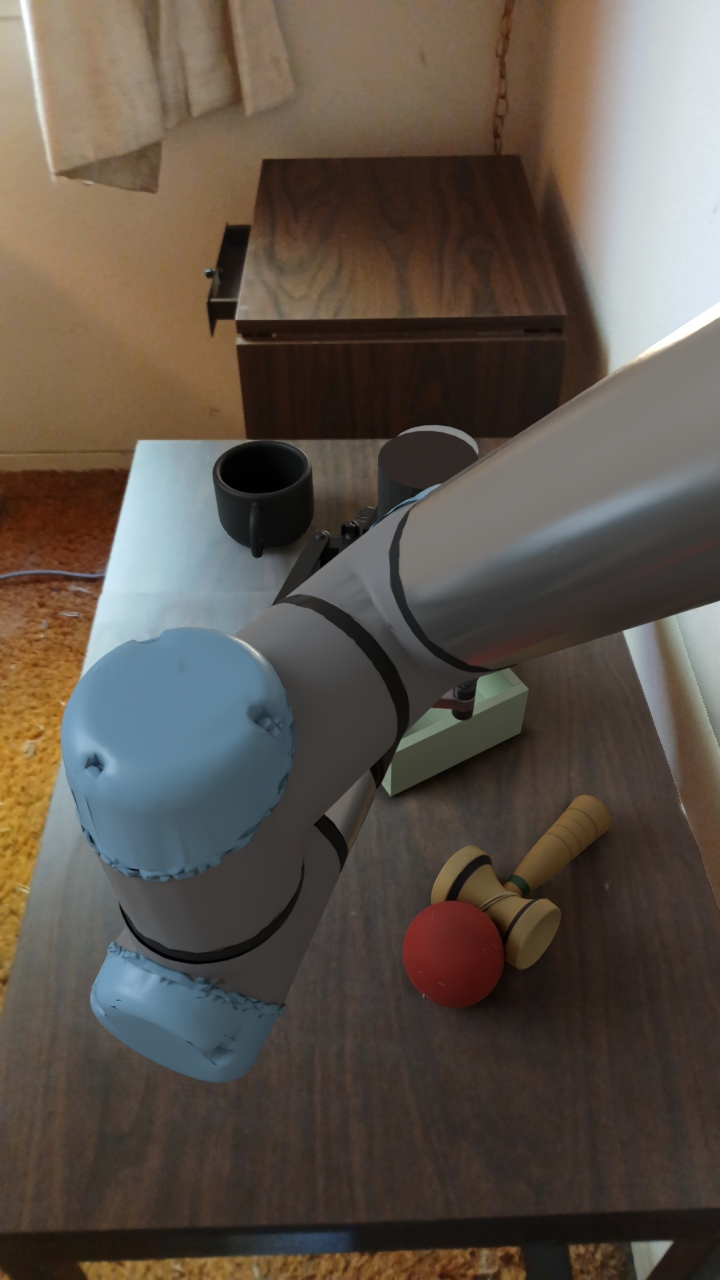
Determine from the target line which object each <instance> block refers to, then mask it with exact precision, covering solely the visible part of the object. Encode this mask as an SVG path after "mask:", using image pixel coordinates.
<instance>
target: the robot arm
mask: <svg viewBox="0 0 720 1280" xmlns="http://www.w3.org/2000/svg"><path fill="white" fill-rule="evenodd" d="M718 602H720V302H718V303H717V304H715V305H713V306H712V307H710V308H709V309H707V310H706V311H704V312H703V313H701V314H700V315H698V316H697V317H694V318H693V319H692V320H691V321H689V322H688V323H685V324H684V325H683V326H681V327H680V328H678V329H677V330H675V331H674V332H672V333H671V334H669V335H668V336H666V337H664V338H663V339H661V340H660V341H658V342H657V343H655V344H654V345H652V346H651V347H648V348H647V349H646V350H644V351H643V352H641V353H640V354H639V355H637V356H636V357H634V358H632V359H631V360H628V362H626V363H624V364H623V365H621V366H620V367H619V368H617V369H615V370H614V371H613V372H610V373H609V374H608V375H606V376H605V377H603V378H602V379H600V380H599V381H597V382H595V383H594V384H592V385H591V386H590V387H588V388H586V389H585V390H583V391H581V392H579V394H577V395H576V396H574V397H572V398H571V399H570V400H568V401H567V402H565V403H563V404H562V405H560V406H559V407H557V408H556V409H554V410H552V411H551V412H550V413H548V414H547V415H545V416H543V417H542V418H540V419H539V420H538V421H537V420H536V421H535V422H534V423H533V424H531V425H530V426H528V427H527V428H525V429H524V430H522V431H520V432H519V433H517V434H516V435H514V436H513V437H511V438H510V439H508V440H507V441H505V442H504V443H502V444H501V445H499V446H498V447H495V448H494V449H493V450H492V451H490V452H489V453H487V454H485V455H484V456H482V457H481V458H478V461H476V462H475V463H473V464H472V465H470V466H469V467H467V468H465V469H464V470H462V471H461V472H459V473H458V474H456V475H455V476H453V477H452V478H450V479H449V480H447V481H446V482H444V483H442V484H438V485H434V486H432V487H430V488H427V489H426V490H424V491H422V492H421V493H419V494H418V495H416V496H415V497H413V498H410V499H408V500H406V501H404V502H402V503H401V504H399V505H398V506H396V507H395V508H393V509H392V510H391V511H390V512H388V513H387V514H386V515H384V516H383V517H381V518H380V519H379V520H378V504H377V505H376V506H375V507H372V506H369V505H366V506H364V507H362V508H360V510H359V511H358V513H357V515H356V517H355V518H354V520H346V521H343V522H342V523H341V524H340V535H330V532H329V531H328V530H325V529H317V530H314V531H312V533H310V536H309V538H308V539H307V541H306V543H305V545H304V547H303V548H302V550H301V552H300V554H299V555H298V557H297V559H296V560H295V563H294V564H293V566H292V568H291V569H290V572H289V573H288V575H287V577H286V579H285V580H284V582H283V584H282V586H281V588H280V589H279V591H278V593H277V595H276V597H275V599H274V600H273V602H272V604H271V605H270V606H269V607H268V608H267V609H265V611H263V612H262V613H261V614H259V615H257V617H255V618H254V619H252V621H250V622H249V623H248V624H246V625H245V626H243V627H242V628H241V629H240V630H238V632H236V633H235V634H230V633H228V632H224V631H221V630H218V629H214V628H204V627H196V626H195V627H194V626H193V627H192V626H186V627H185V626H184V627H172V628H168V629H165V630H163V631H162V632H161V634H160V635H159V636H155V637H152V638H149V639H145V640H141V641H138V640H136V639H130V640H127V641H126V642H123V643H122V644H120V645H118V646H116V647H115V648H114V649H112V650H110V651H109V652H107V653H106V654H104V655H103V656H101V658H100V659H98V660H97V661H96V662H95V663H94V664H93V665H92V666H91V667H90V668H89V669H88V670H87V671H86V672H85V673H84V675H83V676H82V677H81V678H80V680H79V681H78V682H77V684H76V685H75V686H74V688H73V690H72V692H71V695H70V696H69V699H68V701H67V703H66V705H65V708H64V710H63V715H62V719H61V726H60V751H61V758H62V761H63V765H64V771H65V777H66V781H67V784H68V787H69V791H70V794H71V796H72V799H73V802H74V806H75V814H76V817H77V820H78V822H79V825H80V827H81V831H82V834H83V836H84V838H85V841H86V842H87V843H88V844H89V846H90V847H91V848H92V849H93V850H94V853H95V855H96V857H97V859H98V861H99V863H100V865H101V867H102V869H103V872H104V873H105V875H106V877H107V879H108V881H109V885H111V888H112V890H113V892H114V893H115V896H116V898H117V904H118V907H119V911H120V915H121V918H122V921H123V923H124V928H123V930H122V932H121V933H120V934H119V936H118V937H117V938H116V940H112V941H111V942H110V944H109V946H108V947H107V951H106V953H107V955H106V957H105V959H104V961H103V963H102V966H101V967H100V970H99V971H98V973H97V975H96V978H95V980H94V981H93V984H92V986H91V991H90V995H89V1001H90V1002H89V1003H90V1007H91V1010H92V1013H93V1015H94V1017H95V1018H96V1020H97V1021H98V1022H99V1023H100V1024H101V1025H102V1026H103V1028H104V1029H106V1030H107V1032H109V1033H110V1034H111V1035H112V1036H113V1037H114V1038H116V1039H117V1040H119V1042H121V1043H123V1045H125V1046H127V1047H128V1048H130V1049H131V1050H133V1051H135V1052H136V1053H138V1054H139V1055H141V1056H142V1057H144V1058H146V1059H149V1060H150V1061H152V1062H154V1063H156V1064H158V1065H160V1066H162V1067H164V1068H167V1069H169V1070H171V1071H173V1072H175V1073H178V1074H181V1075H183V1076H185V1077H189V1078H192V1079H195V1080H198V1081H203V1082H207V1083H213V1084H214V1083H215V1084H223V1083H230V1082H234V1081H236V1080H237V1079H239V1078H241V1077H243V1076H244V1075H246V1073H248V1072H249V1071H250V1070H251V1068H252V1067H253V1065H254V1064H255V1061H256V1059H257V1057H258V1055H259V1053H260V1052H261V1049H262V1048H263V1046H264V1044H265V1042H266V1040H267V1039H268V1037H269V1035H270V1033H271V1031H272V1029H273V1027H274V1025H275V1024H276V1022H277V1020H278V1018H279V1017H281V1016H283V1015H284V1013H285V1011H286V1008H287V1005H286V1003H285V1002H286V999H287V997H288V995H289V993H290V991H291V988H292V985H293V983H294V980H295V978H296V976H297V973H298V972H299V969H300V967H301V965H302V962H303V960H304V957H305V955H306V953H307V951H308V948H309V946H310V944H311V942H312V939H313V937H314V935H315V932H316V931H317V929H318V926H319V923H320V921H321V919H322V917H323V914H324V912H325V910H326V907H327V905H328V904H329V900H330V899H331V896H332V894H333V891H334V889H335V887H336V884H337V882H338V881H339V877H340V875H341V874H342V873H341V872H342V871H343V868H344V866H345V864H346V861H347V859H348V857H349V855H350V852H351V851H352V848H353V846H354V844H355V842H356V841H357V840H356V839H357V838H358V835H359V834H360V831H361V829H362V828H363V825H364V823H365V821H366V818H367V816H368V814H369V812H370V809H371V807H372V806H373V804H374V802H375V798H376V794H377V790H378V788H379V787H380V786H382V784H381V783H382V781H383V779H384V777H385V775H386V773H387V770H388V768H389V766H390V764H391V761H392V759H393V757H394V755H395V752H396V750H397V748H398V746H399V743H400V741H401V739H402V737H403V735H404V734H405V733H406V732H407V731H408V730H409V729H410V728H411V727H412V726H413V725H414V724H415V723H416V722H417V721H418V720H419V719H420V718H421V717H422V716H423V715H424V714H425V713H426V712H427V711H428V710H429V709H430V708H439V709H452V710H451V712H452V715H453V716H454V718H456V719H458V720H461V721H465V720H468V719H470V718H471V717H472V716H473V711H474V703H475V695H476V687H477V681H478V679H479V677H482V676H485V675H488V674H492V673H495V672H498V671H501V670H504V669H507V668H509V669H510V668H512V667H515V666H517V665H518V664H522V663H525V662H528V661H531V660H534V659H537V658H541V657H543V656H548V655H550V654H553V653H557V652H560V651H563V650H566V649H570V648H573V647H576V646H580V645H581V644H582V645H583V644H586V643H589V642H592V641H595V640H598V639H602V638H606V637H608V636H612V635H615V634H618V633H621V632H625V631H627V630H631V629H634V628H637V627H640V626H644V625H646V624H651V623H653V622H657V621H660V620H663V619H666V618H669V617H673V616H676V615H679V614H683V613H686V612H689V611H692V610H696V609H698V608H702V607H705V606H708V605H711V604H715V603H718Z"/></svg>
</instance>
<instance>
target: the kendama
mask: <svg viewBox="0 0 720 1280" xmlns="http://www.w3.org/2000/svg"><path fill="white" fill-rule="evenodd" d="M611 825H612V818H611V814H610V812H609V810H608V808H607V807H606V805H605V804H604V803H602V802H601V801H600V800H599V799H598V798H596V797H595V796H593V795H588V794H581V795H577V796H576V797H575V798H574V799H573V800H572V801H571V803H570V804H569V805H568V806H567V808H566V809H565V811H564V812H562V814H561V815H560V816H559V817H558V819H557V820H555V822H554V823H553V824H552V825H551V827H549V828H548V830H547V831H546V832H545V833H544V834H543V836H541V837H540V838H539V840H537V842H535V844H534V845H533V846H532V848H531V849H530V850H529V851H528V852H527V854H526V855H525V856H524V858H523V859H522V860H521V861H520V863H519V864H518V865H517V867H516V868H515V869H514V871H513V872H512V874H511V875H510V876H509V877H508V879H507V880H506V882H505V883H504V884H501V882H500V881H499V879H498V878H497V875H496V873H495V871H494V867H493V861H492V858H491V855H490V854H489V853H487V852H486V851H484V850H482V849H481V848H479V847H478V846H476V845H473V844H470V845H469V844H468V845H466V846H464V847H462V848H460V849H459V850H457V851H456V852H455V853H453V855H451V857H449V859H448V860H447V861H446V862H445V863H444V865H443V866H442V868H441V870H440V871H439V873H438V874H437V876H436V879H435V881H434V883H433V886H432V890H431V895H430V905H429V906H427V907H426V908H424V909H422V910H421V911H420V912H419V913H418V914H417V915H416V916H415V917H414V919H413V920H412V921H411V923H410V924H409V926H408V928H407V930H406V932H405V935H404V938H403V942H402V952H401V953H402V955H401V957H402V963H403V967H404V970H405V973H406V975H407V977H408V979H409V981H410V983H411V985H413V987H414V988H415V989H416V990H417V992H419V994H420V995H421V996H422V998H423V1000H425V1001H430V1002H431V1003H433V1004H436V1005H437V1006H440V1007H444V1008H448V1009H464V1008H468V1007H471V1006H473V1005H476V1004H478V1003H480V1002H481V1001H482V1000H484V999H485V998H486V997H488V995H490V994H491V992H492V991H493V990H494V989H495V987H496V986H497V984H498V982H499V980H500V978H501V976H502V973H503V970H504V965H505V961H506V962H507V963H508V964H510V965H511V966H512V967H514V968H516V969H517V970H521V971H523V970H525V969H529V968H530V967H531V966H533V965H534V964H535V963H536V962H537V961H538V960H539V959H540V958H541V957H542V955H543V954H544V953H545V952H546V950H547V949H548V947H549V946H550V945H551V943H552V941H553V940H554V937H555V936H556V934H557V932H558V929H559V926H560V924H561V918H562V912H561V909H560V907H558V906H557V905H556V904H554V903H553V902H552V901H550V899H548V898H536V899H528V898H525V897H527V896H529V894H531V893H533V892H534V891H536V890H537V889H539V887H541V886H543V885H544V884H545V883H547V882H548V881H549V880H550V879H552V878H553V877H554V876H555V875H556V874H558V873H559V872H560V871H562V870H563V869H564V868H565V867H566V866H567V865H568V864H569V863H570V862H571V861H573V860H574V859H575V858H576V857H577V856H578V855H579V854H581V853H582V852H583V851H584V850H586V848H588V847H589V846H590V845H591V844H592V843H593V842H595V841H596V840H597V839H598V838H600V837H601V836H602V835H604V834H605V833H607V832H608V830H609V829H610V828H611Z"/></svg>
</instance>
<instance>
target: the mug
mask: <svg viewBox="0 0 720 1280" xmlns="http://www.w3.org/2000/svg"><path fill="white" fill-rule="evenodd" d="M211 474H212V475H211V476H212V482H213V488H214V494H215V501H216V508H217V514H218V518H219V522H220V525H221V526H222V528H223V530H224V531H225V532H226V534H227V535H228V536H229V537H230V538H231V540H233V541H235V542H236V543H238V544H239V545H241V546H244V547H246V548H249V549H250V551H251V555H252V557H253V558H255V559H261V558H262V557H263V555H264V552H265V550H273V549H274V550H275V549H278V548H279V549H280V548H283V547H286V546H289V545H291V544H293V543H295V542H297V541H298V540H299V539H300V538H302V537H304V535H305V534H306V533H307V531H308V529H309V528H310V526H311V525H312V522H313V520H314V516H315V493H314V479H313V478H314V476H313V466H312V461H311V459H310V457H309V456H308V455H307V453H306V452H305V451H304V450H303V449H301V448H300V447H298V446H296V445H294V444H292V443H289V442H286V441H281V440H274V439H259V440H251V441H247V442H243V443H240V444H237V445H234V446H233V447H230V448H229V449H227V450H225V451H224V452H223V453H222V454H221V455H220V456H219V457H218V458H217V459H216V461H215V462H214V465H213V467H212V472H211Z"/></svg>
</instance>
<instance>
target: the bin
mask: <svg viewBox="0 0 720 1280" xmlns="http://www.w3.org/2000/svg"><path fill="white" fill-rule="evenodd" d="M520 679H521V678H519V677H518V676H517V674H515V673H514V672H513V671H512V669H511V668H510V667H509V668H507V669H504V670H501V671H498V672H495V673H492V674H488V675H485V676H482V677H479V679H478V681H477V687H476V695H475V703H474V711H473V716H472V717H471V718H470V719H468V720H465V721H461V720H458V719H456V718H454V716H453V715H452V712H451V710H452V709H439V708H430V709H429V710H428V711H427V712H426V713H425V714H424V715H423V716H422V717H421V718H420V719H419V720H418V721H417V722H416V723H415V724H414V725H413V726H412V727H411V728H410V729H409V730H408V731H407V732H406V733H405V734H404V735H403V737H402V739H401V741H400V743H399V746H398V748H397V750H396V752H395V755H394V757H393V759H392V761H391V764H390V766H389V768H388V770H387V773H386V775H385V777H384V779H383V781H382V783H381V786H382V787H383V788H384V789H385V791H386V792H387V794H388V796H389V797H393V796H395V795H397V794H399V793H401V792H403V791H405V790H407V789H410V788H411V787H414V786H415V785H417V784H419V783H422V782H423V781H425V780H428V779H430V778H433V776H436V775H438V774H439V773H442V772H444V771H446V770H449V769H450V768H452V767H454V766H456V765H458V764H460V763H462V762H464V761H466V760H468V759H470V758H472V757H475V756H476V755H479V754H480V753H482V752H484V751H487V750H489V749H490V748H492V747H494V746H495V747H496V746H497V745H498V744H500V743H503V742H505V741H506V740H509V739H511V738H513V737H515V736H517V735H519V734H521V733H522V727H523V723H524V717H525V711H526V707H527V701H528V696H529V691H530V689H529V688H528V686H526V685H525V683H524V682H523V681H522V680H520Z"/></svg>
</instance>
